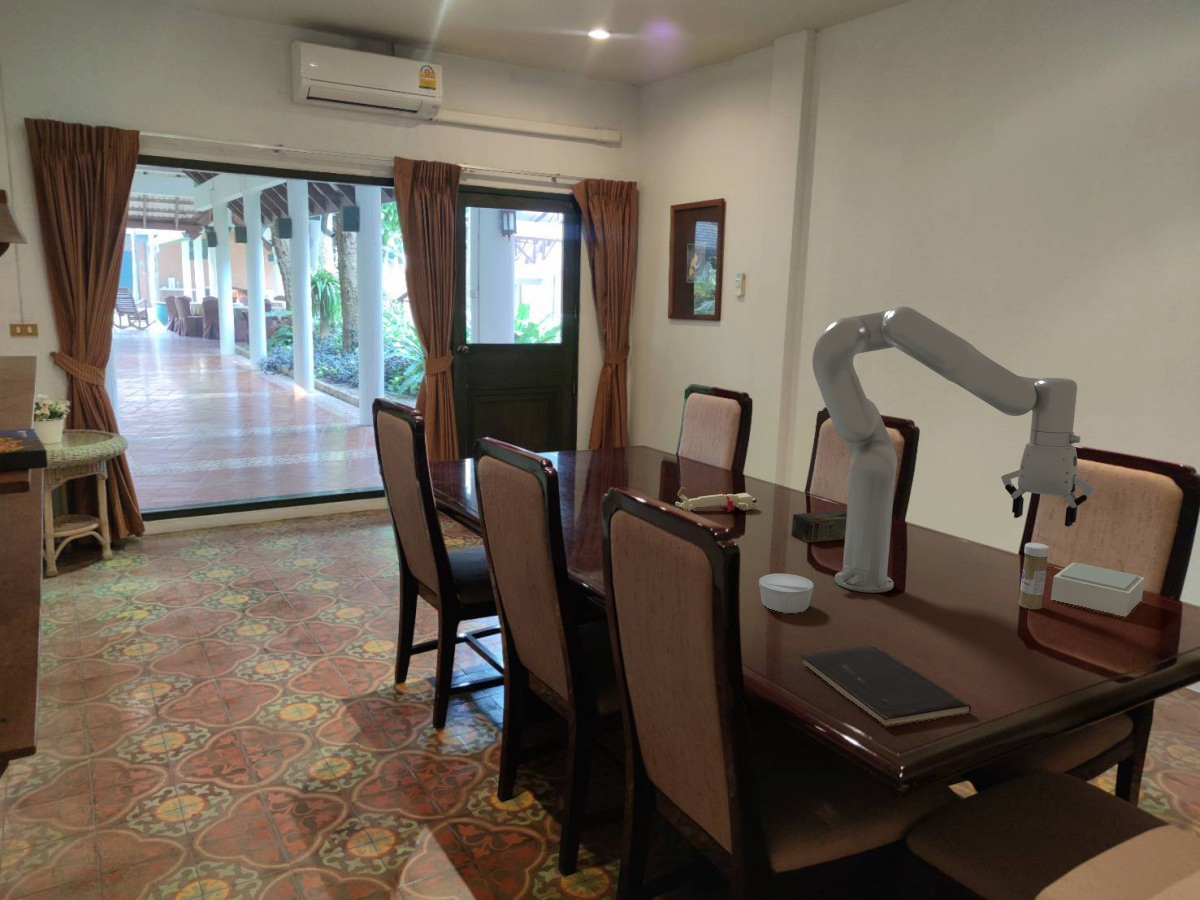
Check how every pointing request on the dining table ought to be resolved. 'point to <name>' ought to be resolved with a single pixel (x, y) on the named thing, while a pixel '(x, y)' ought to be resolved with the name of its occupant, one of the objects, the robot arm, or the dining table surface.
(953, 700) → the hardcover book
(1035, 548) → the sprinkles bottle
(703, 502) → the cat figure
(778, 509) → the dining table surface
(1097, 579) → the white rimmed tray
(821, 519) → the beverage carton
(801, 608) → the ramekin
